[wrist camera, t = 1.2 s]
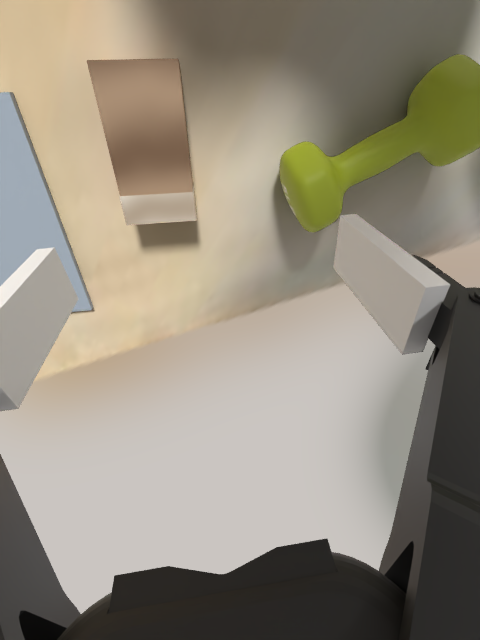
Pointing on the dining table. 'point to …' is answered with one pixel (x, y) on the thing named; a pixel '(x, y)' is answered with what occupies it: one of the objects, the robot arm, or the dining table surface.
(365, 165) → the dumbbell
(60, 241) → the slate mat
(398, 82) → the dining table surface
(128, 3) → the dining table surface
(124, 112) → the brown block
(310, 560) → the robot arm
